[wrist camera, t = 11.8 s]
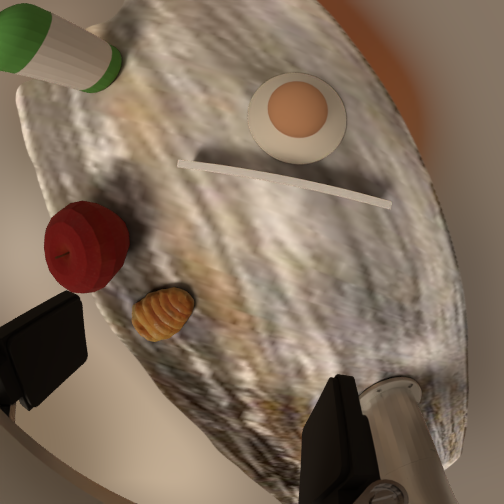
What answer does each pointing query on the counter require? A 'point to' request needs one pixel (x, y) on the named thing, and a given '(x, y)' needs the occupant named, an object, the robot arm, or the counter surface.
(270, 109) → the ball
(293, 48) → the counter surface
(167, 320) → the pastry
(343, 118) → the saucer
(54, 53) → the wine bottle
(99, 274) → the apple
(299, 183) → the wall
